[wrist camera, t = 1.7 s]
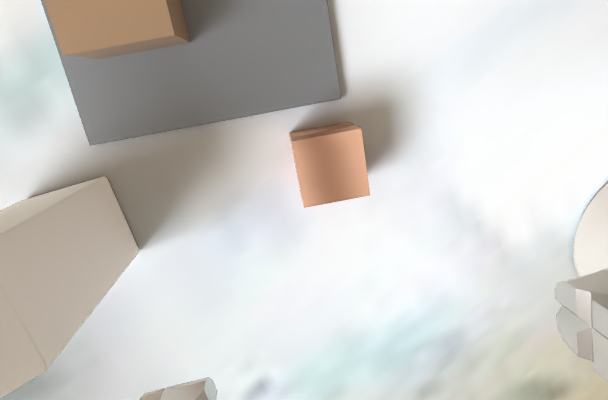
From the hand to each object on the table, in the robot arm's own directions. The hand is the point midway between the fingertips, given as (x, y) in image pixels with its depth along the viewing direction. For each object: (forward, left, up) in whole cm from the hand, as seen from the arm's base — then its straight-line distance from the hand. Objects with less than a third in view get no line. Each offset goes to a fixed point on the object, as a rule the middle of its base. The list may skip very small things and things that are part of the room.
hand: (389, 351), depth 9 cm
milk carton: (+19, +2, -26) cm, 32 cm away
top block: (-2, 0, -26) cm, 26 cm away
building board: (+6, -12, -25) cm, 29 cm away
